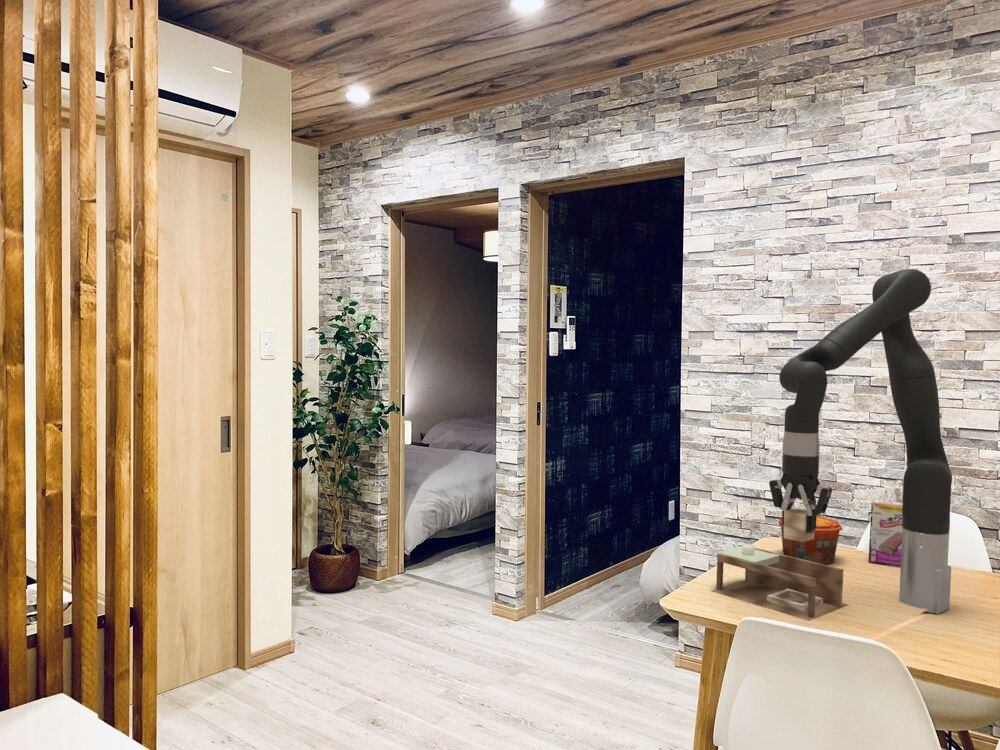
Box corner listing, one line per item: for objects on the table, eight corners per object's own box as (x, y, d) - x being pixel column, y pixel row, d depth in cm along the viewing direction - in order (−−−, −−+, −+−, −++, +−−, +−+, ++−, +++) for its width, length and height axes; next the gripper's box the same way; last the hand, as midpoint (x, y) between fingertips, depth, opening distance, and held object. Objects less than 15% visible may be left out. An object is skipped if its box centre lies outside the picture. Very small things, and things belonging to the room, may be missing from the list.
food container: (853, 566, 210) (855, 525, 210) (799, 568, 206) (801, 527, 206) (816, 550, 226) (817, 512, 225) (765, 552, 222) (767, 514, 221)
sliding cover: (779, 562, 184) (779, 546, 184) (754, 569, 178) (755, 553, 177) (741, 552, 192) (742, 537, 192) (716, 559, 185) (717, 543, 185)
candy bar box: (867, 563, 213) (870, 502, 213) (870, 558, 218) (872, 499, 217) (915, 569, 208) (917, 507, 207) (916, 565, 212) (918, 504, 211)
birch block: (814, 538, 175) (814, 511, 174) (803, 542, 172) (803, 514, 171) (794, 534, 178) (795, 508, 178) (783, 538, 175) (784, 510, 175)
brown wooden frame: (848, 609, 175) (850, 568, 175) (808, 625, 164) (810, 581, 164) (752, 582, 193) (753, 544, 193) (710, 595, 183) (711, 555, 182)
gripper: (841, 454, 171) (838, 533, 172) (780, 447, 182) (778, 522, 183) (823, 457, 166) (821, 539, 167) (761, 450, 177) (759, 526, 178)
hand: (798, 529), depth 175 cm, fingers closed on birch block, 4 cm apart
